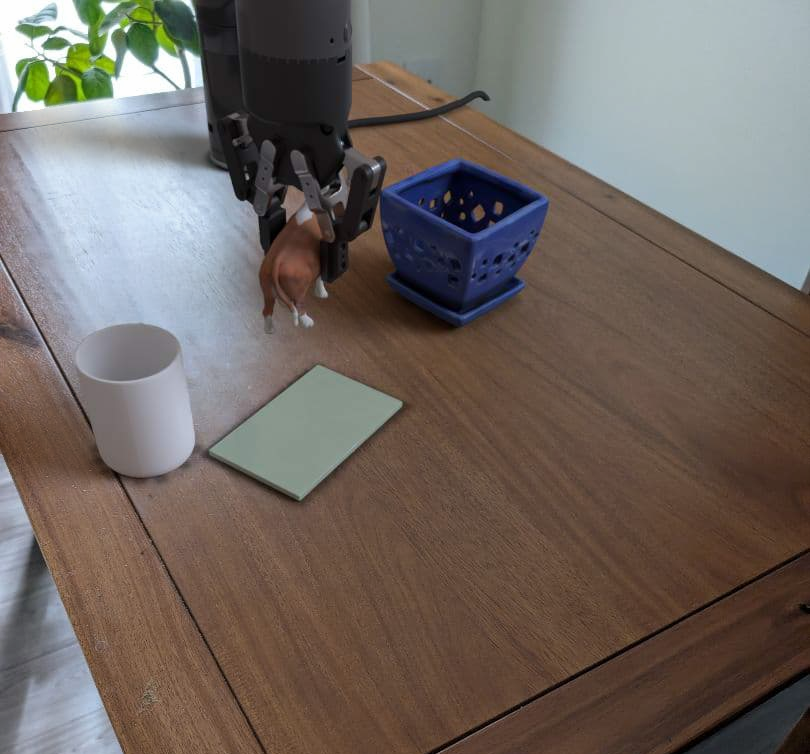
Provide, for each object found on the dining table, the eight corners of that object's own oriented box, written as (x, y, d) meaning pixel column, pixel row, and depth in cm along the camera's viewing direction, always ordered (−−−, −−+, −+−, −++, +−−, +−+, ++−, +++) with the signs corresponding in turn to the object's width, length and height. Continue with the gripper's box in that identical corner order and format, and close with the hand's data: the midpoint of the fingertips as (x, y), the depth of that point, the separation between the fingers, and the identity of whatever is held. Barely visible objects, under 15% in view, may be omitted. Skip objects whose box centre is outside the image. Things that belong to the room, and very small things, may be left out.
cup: (93, 481, 73) (64, 383, 65) (112, 394, 81) (89, 299, 73) (193, 479, 73) (176, 382, 66) (202, 393, 82) (187, 298, 74)
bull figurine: (359, 270, 75) (360, 179, 69) (296, 353, 67) (291, 258, 61) (313, 259, 76) (310, 169, 70) (245, 340, 68) (235, 245, 62)
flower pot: (537, 299, 96) (556, 195, 88) (461, 345, 89) (473, 237, 81) (448, 254, 102) (458, 153, 94) (370, 294, 95) (373, 189, 87)
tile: (318, 369, 85) (317, 364, 85) (402, 406, 82) (402, 401, 81) (209, 455, 76) (208, 450, 75) (299, 501, 72) (299, 496, 72)
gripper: (173, 23, 57) (204, 258, 69) (352, 77, 52) (350, 319, 65) (246, -4, 61) (263, 222, 74) (417, 44, 56) (404, 276, 69)
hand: (304, 266), depth 69 cm, fingers closed on bull figurine, 5 cm apart
